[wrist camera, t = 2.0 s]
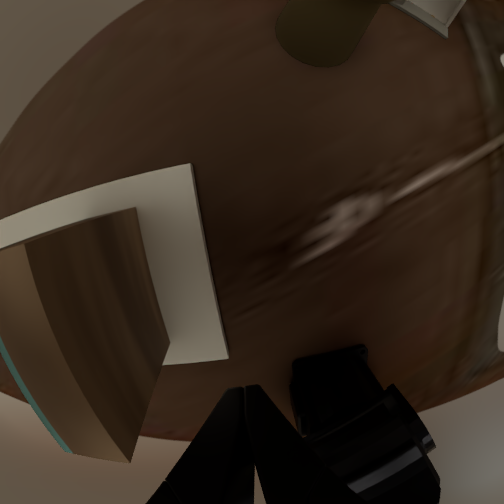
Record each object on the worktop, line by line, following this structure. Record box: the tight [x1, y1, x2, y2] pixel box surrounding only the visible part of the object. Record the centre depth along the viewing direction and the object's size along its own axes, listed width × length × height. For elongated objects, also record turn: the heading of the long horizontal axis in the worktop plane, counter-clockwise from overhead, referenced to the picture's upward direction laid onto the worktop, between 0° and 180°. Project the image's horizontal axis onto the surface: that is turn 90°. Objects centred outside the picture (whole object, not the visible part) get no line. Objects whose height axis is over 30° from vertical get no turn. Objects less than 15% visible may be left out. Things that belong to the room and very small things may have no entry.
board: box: [0, 163, 229, 365], centre depth 19 cm, size 22×14×1 cm, turn 99°
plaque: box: [0, 207, 170, 463], centre depth 13 cm, size 4×10×11 cm, turn 9°
